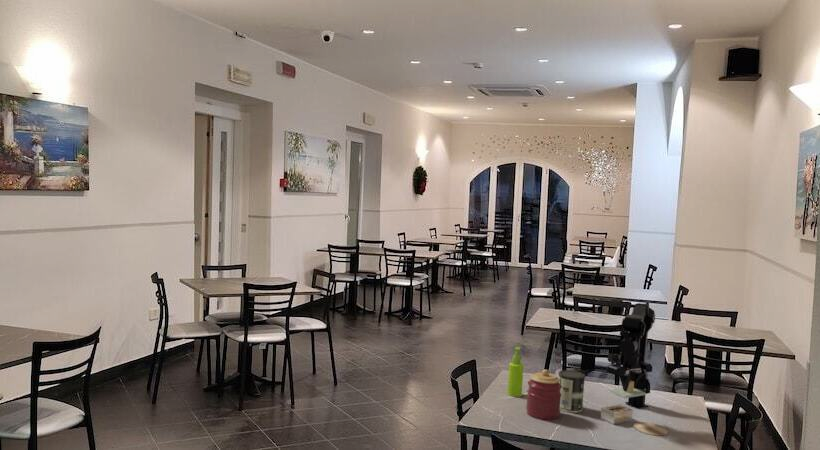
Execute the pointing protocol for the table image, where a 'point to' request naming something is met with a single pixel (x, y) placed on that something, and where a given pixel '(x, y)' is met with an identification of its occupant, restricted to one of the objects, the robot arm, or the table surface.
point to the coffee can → (571, 391)
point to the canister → (544, 395)
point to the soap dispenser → (515, 375)
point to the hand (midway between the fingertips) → (628, 390)
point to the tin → (616, 414)
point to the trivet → (650, 428)
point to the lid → (628, 391)
